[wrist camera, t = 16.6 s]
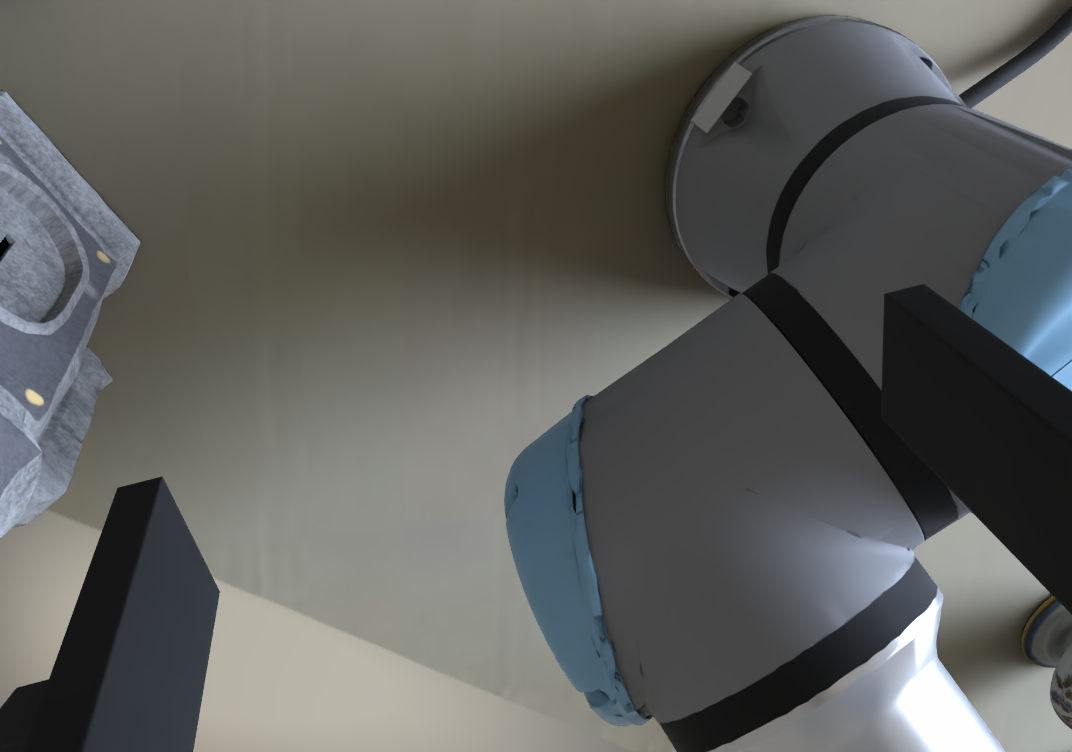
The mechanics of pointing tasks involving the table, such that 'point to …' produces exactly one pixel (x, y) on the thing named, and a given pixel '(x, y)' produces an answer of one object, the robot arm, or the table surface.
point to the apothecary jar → (1052, 651)
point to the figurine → (48, 313)
